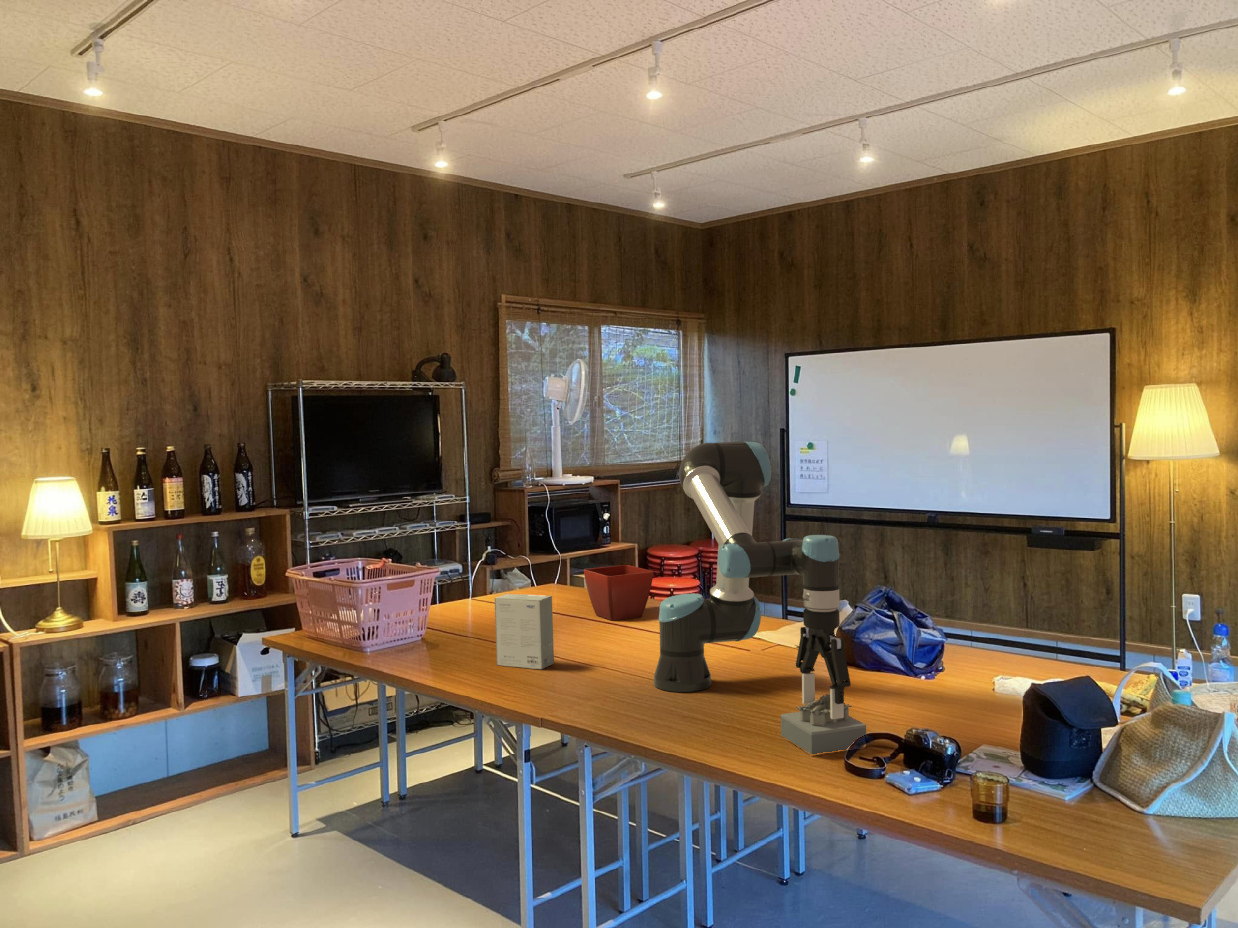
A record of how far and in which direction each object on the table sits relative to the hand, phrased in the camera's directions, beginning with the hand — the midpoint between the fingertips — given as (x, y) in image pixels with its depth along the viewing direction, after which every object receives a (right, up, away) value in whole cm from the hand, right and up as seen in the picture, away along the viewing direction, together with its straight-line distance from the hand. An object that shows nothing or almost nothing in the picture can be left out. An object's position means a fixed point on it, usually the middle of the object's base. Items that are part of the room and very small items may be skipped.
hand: (822, 710), depth 200 cm
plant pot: (-43, -2, +137) cm, 144 cm away
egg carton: (+1, -2, 0) cm, 2 cm away
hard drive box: (-71, -6, +71) cm, 101 cm away
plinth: (0, -7, 0) cm, 7 cm away
